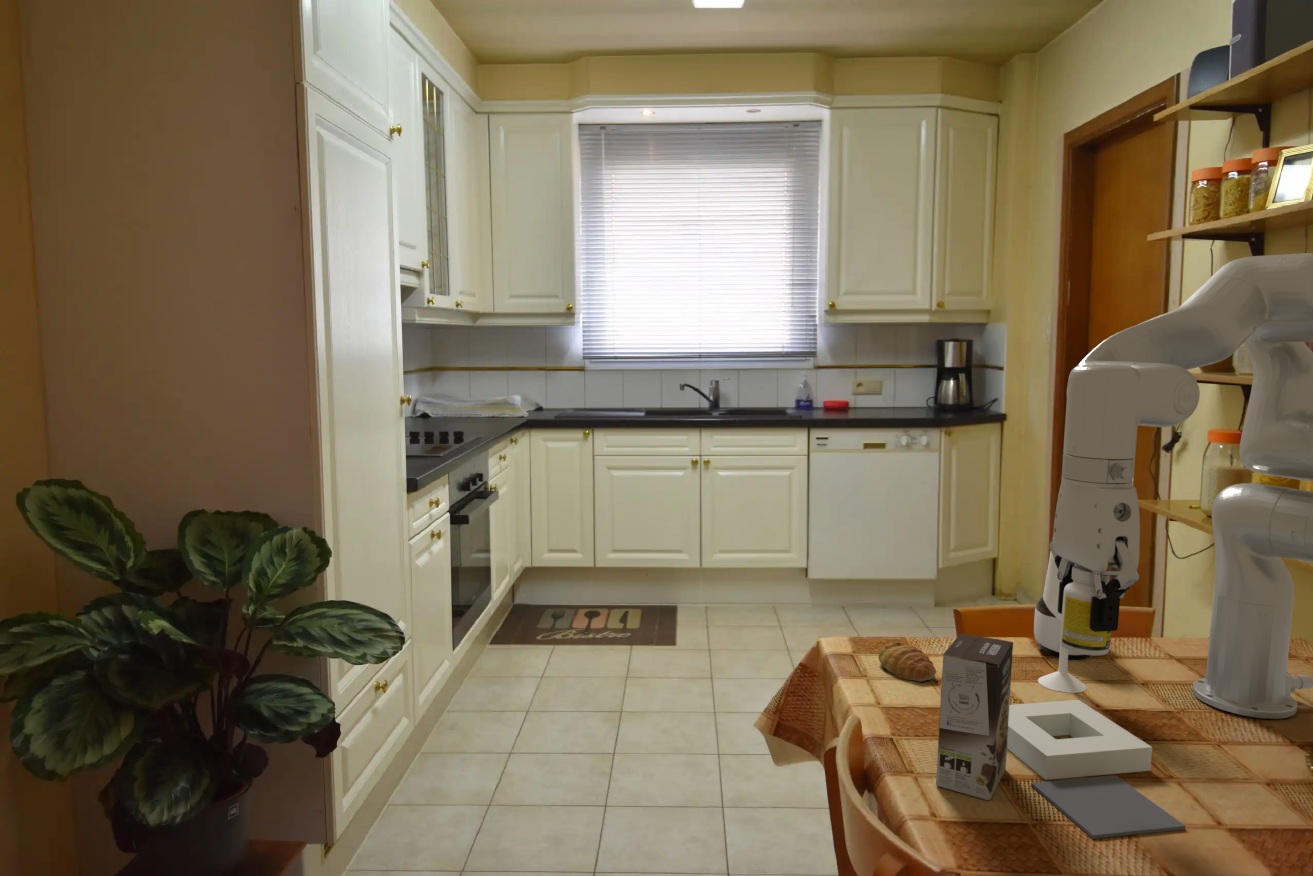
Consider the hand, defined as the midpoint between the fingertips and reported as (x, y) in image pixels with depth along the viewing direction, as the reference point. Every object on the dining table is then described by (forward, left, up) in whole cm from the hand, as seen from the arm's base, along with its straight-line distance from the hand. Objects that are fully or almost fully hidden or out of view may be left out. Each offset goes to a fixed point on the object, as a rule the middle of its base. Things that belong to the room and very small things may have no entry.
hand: (1086, 620), depth 106 cm
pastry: (+6, -33, -19) cm, 39 cm away
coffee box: (+14, 0, -19) cm, 23 cm away
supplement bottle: (0, 0, -4) cm, 4 cm away
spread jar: (-25, -38, -19) cm, 49 cm away
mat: (+2, +8, -19) cm, 21 cm away
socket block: (-2, -5, -19) cm, 19 cm away
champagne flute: (-15, -24, -19) cm, 34 cm away
